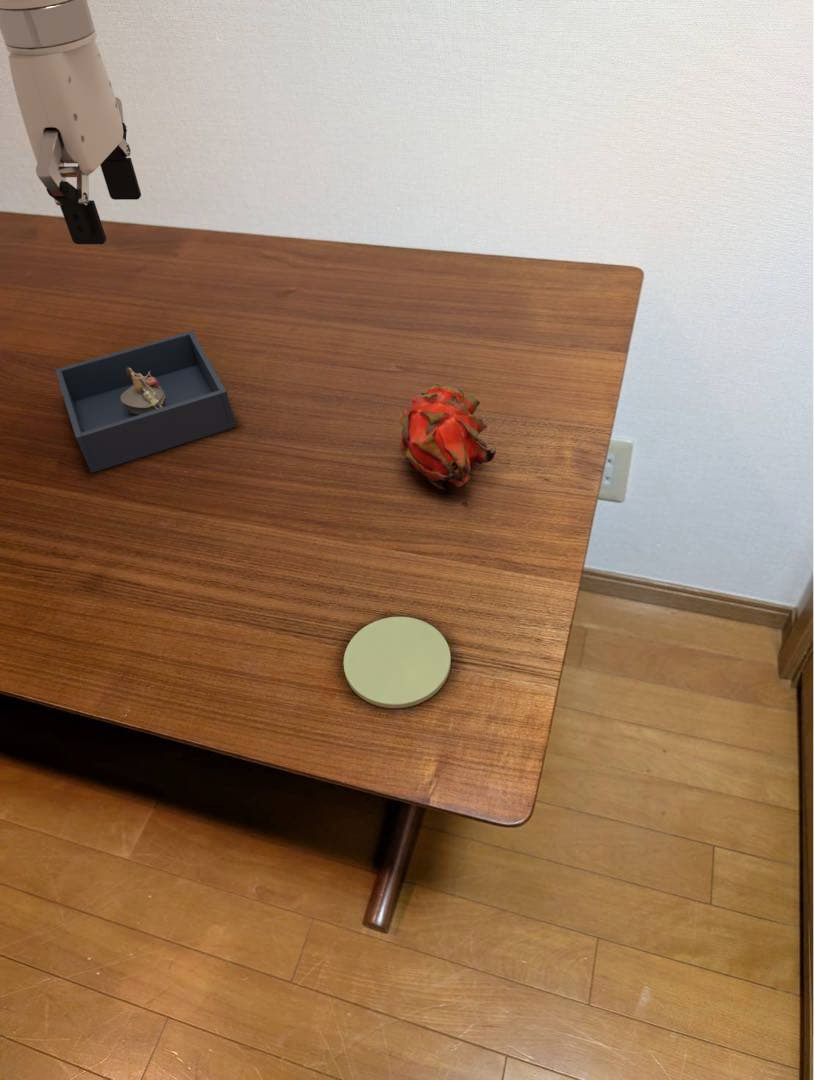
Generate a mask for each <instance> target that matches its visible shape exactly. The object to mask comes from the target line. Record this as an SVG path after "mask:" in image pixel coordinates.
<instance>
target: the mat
mask: <svg viewBox="0 0 814 1080" xmlns="http://www.w3.org/2000/svg"><path fill="white" fill-rule="evenodd" d="M451 656H452V655H451V650H450V646H449V644H448V642H447V640H446V638H445V637H444V635H442V633H441V632H440V631H439V630H438V629H437V628H435V627H434V626H433V625H431V624H429V623H428V622H426V621H424V620H421V619H419V618H418V619H417V618H415V617H411V616H389V617H385V618H381V619H378V620H375V621H373V622H371V623H368V624H367V625H365V626H364V627H362V628H361V629H360V630H358V632H357V633H355V634H354V636H353V637H352V638H351V639H350V641H349V642H348V644H347V646H346V649H345V650H344V654H343V671H344V676H345V679H346V682H347V684H348V685H349V687H350V689H351V690H352V691H353V692H354V693H355V694H356V696H358V697H359V698H360V699H362V700H363V701H365V702H367V703H369V704H371V705H374V706H377V707H381V708H386V709H404V708H409V707H410V708H411V707H413V706H416V705H419V704H422V703H423V702H426V701H427V700H429V699H430V698H432V697H433V696H434V695H436V694H437V693H438V692H439V691H440V689H441V688H443V686H444V685H445V683H446V681H447V679H448V678H449V675H450V671H451V667H452V661H451V660H452V659H451Z"/></svg>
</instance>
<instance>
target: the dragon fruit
mask: <svg viewBox="0 0 814 1080" xmlns="http://www.w3.org/2000/svg"><path fill="white" fill-rule="evenodd" d="M411 403H412V406H411V407H410V408H409V409H408V410H404V411H403V413H402V416H401V418H400V419H399V423H400V425H401V426H402V427H401V428H402V430H401V442H400V444H399V451H400V453H401V455H403V456H405V457H406V459H407V460H408V462H410V463H411V465H412V466H413V467H414V468H415V469H416V470H417V471H418V472H420V473H421V475H423V476H424V477H425V478H426V480H427V481H428V482H429V483H430V484H432V485H433V486H435V487H437V488H438V489H439V490H443V491H446V488H445V486H444V483H445V482H446V481H448V482H450V483H451V484H452V485H453V486H455V487H457V488H461V487H462V486H463V485H464V484H466V483H467V482H469V481H470V480H471V479H472V477H471V475H470V473H471V463H475V464H478V465H483V464H485V463H489V462H491V461H492V460H494V458H495V455H496V453H497V447H491V448H490V449H487V448H488V446H487V443H486V442H485V441H484V440H482V439H481V438H479V435H480V434H481V433H482V432H483V431H484V430H485V429H487V428H488V424H487V423H486V422H485V421H484V420H483V419H481V418H477V417H476V416H475V415H474V413H475V412H476V411H477V408H478V407H479V405H480V404H481V402H480V401H479V399H478V398H477V397H475V396H473V395H468V396H465V393H464V391H462V390H460V389H458V388H456V387H455V386H453V385H451V384H446V385H443V386H441V385H439V384H438V383H436V384H433V385H432V386H431V387H429V388H428V391H427V392H425V393H424V392H421V393H420V392H419V393H418V394H417V395H416V396H414V397H413V398H412V400H411Z"/></svg>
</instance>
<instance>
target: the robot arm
mask: <svg viewBox="0 0 814 1080" xmlns="http://www.w3.org/2000/svg"><path fill="white" fill-rule="evenodd" d="M93 21H94V20H93V18H92V14H91V11H90V8H89V3H88V0H0V33H1V36H2V39H3V42H4V45H5V47H6V51H7V52H9V55H8V56H7V57H8V61H9V62H8V63H9V68H10V75H11V79H12V82H13V89H14V92H15V96H16V100H17V104H18V107H19V109H20V110H19V111H20V114H21V117H22V121H23V123H24V124H23V125H24V127H25V131H26V134H27V137H28V140H29V143H30V146H31V150H32V152H33V155H34V158H35V161H36V166H35V173H36V176H37V177H38V179H39V181H40V182H41V183H42V184H43V186H44V187H45V189H46V192H47V194H48V195H49V196H50V197H51V198H53V200H54V203H55V204H56V205H57V206H59V207H60V210H61V213H62V215H63V218H64V221H65V224H66V227H67V230H68V232H69V234H70V237H71V240H72V243H73V244H75V245H104V244H105V243H106V241H107V236H106V233H105V230H104V226H103V224H102V221H101V217H100V214H99V212H98V208H97V205H96V203H95V200H91V199H90V191H89V189H90V187H89V186H90V185H89V184H90V183H89V181H90V179H89V177H90V175H91V174H92V173H94V172H95V171H96V170H97V169H98V168H99V167H100V169H101V173H102V175H103V178H104V179H103V180H104V183H105V184H106V189H107V191H108V195H109V197H110V199H112V200H115V201H117V200H118V201H119V200H120V201H121V200H122V201H123V200H129V201H130V200H132V201H133V200H134V201H135V200H139V199H140V198H141V197H142V192H141V189H140V185H139V182H138V178H137V174H136V171H135V167H134V164H133V160H132V158H131V154H132V150H131V147H130V144H129V143H128V141H127V133H128V129H127V125H126V123H125V122H124V112H123V111H124V109H123V103H122V100H121V99H120V98H119V97H116V96H115V92H114V89H113V85H112V83H111V80H110V77H109V74H108V71H107V69H106V66H105V63H104V60H103V57H102V55H101V52H100V49H99V47H98V43H97V42H96V39H97V37H98V35H97V32H96V28H95V25H94V22H93ZM65 164H77V166H71V165H70V166H65ZM67 178H76V187H75V186H74V185H73V184H71V183H70V182H69V181H67Z"/></svg>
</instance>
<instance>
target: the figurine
mask: <svg viewBox="0 0 814 1080" xmlns="http://www.w3.org/2000/svg"><path fill="white" fill-rule="evenodd" d="M126 373H127V374H128V375H129V376H130V375H131V378H132V380H133V383H134V385H133V386H132V387H130V388H129V389H127V390H126V391H125V392H123V393H122V395H121V397H120V398H121V401H122V404H123V405H124V406H125V407H127V409H128V410H129V412H130V413H134V414H139V415H140V414H144V413H147V412H150V411H153V410H157V409H160V408H163V406H161V405H162V404H163V403H164V402H165V400H166V396H165V394H164V391H163V390H162V389H161V387H158V386H159V383H158V381H157V380H156V379H155V377H149V378H147V379H146V377H147V376H149V375H150V372H149V373H148V375H147V376H145V377H144V376H142V375H141V374H140V373H137V374H136V373H134V372H133V371H132V369H131V368H129V367H128V368H127V370H126ZM135 374H136V377H135ZM128 375H127V376H128ZM150 376H151V375H150ZM141 378H142V379H141ZM142 380H144V381H142ZM142 382H144V383H142Z"/></svg>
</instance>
